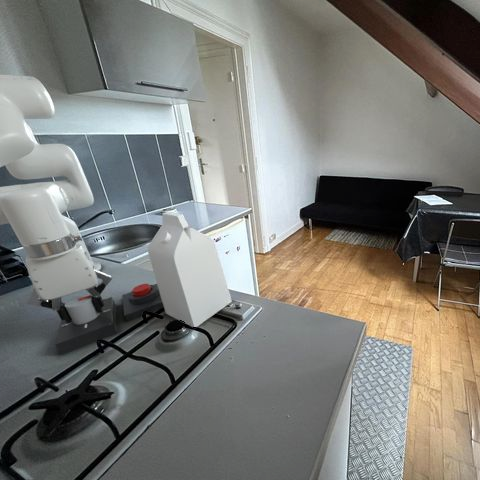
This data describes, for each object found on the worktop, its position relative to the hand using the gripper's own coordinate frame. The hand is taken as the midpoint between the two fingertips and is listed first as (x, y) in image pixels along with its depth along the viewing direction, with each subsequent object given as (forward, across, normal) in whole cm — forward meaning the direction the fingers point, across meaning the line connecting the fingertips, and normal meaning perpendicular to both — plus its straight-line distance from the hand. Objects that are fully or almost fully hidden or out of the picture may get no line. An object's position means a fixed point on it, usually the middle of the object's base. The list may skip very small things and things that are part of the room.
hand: (85, 314), depth 63 cm
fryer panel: (+4, 0, 0) cm, 4 cm away
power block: (+4, -12, -3) cm, 13 cm away
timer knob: (+1, 0, 0) cm, 1 cm away
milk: (+4, -23, +10) cm, 25 cm away
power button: (+1, -12, -3) cm, 12 cm away
